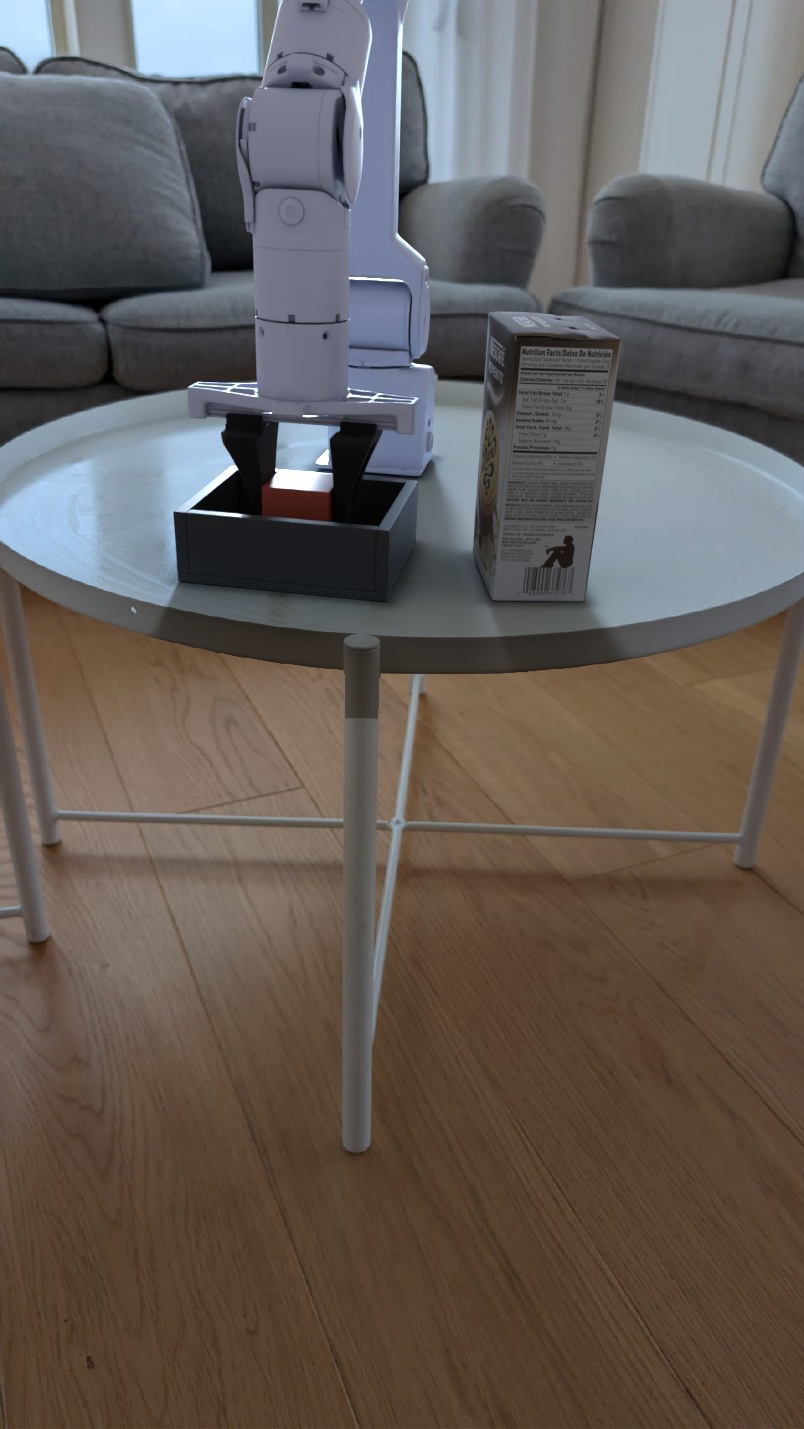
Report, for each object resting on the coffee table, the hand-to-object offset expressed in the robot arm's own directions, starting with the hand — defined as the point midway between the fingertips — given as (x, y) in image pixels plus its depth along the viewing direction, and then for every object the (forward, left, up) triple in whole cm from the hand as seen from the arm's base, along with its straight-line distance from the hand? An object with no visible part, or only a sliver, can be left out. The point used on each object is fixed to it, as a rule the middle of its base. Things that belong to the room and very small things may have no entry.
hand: (303, 533), depth 69 cm
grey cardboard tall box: (-15, -1, -2) cm, 15 cm away
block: (0, 0, -1) cm, 1 cm away
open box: (0, 0, -2) cm, 2 cm away
